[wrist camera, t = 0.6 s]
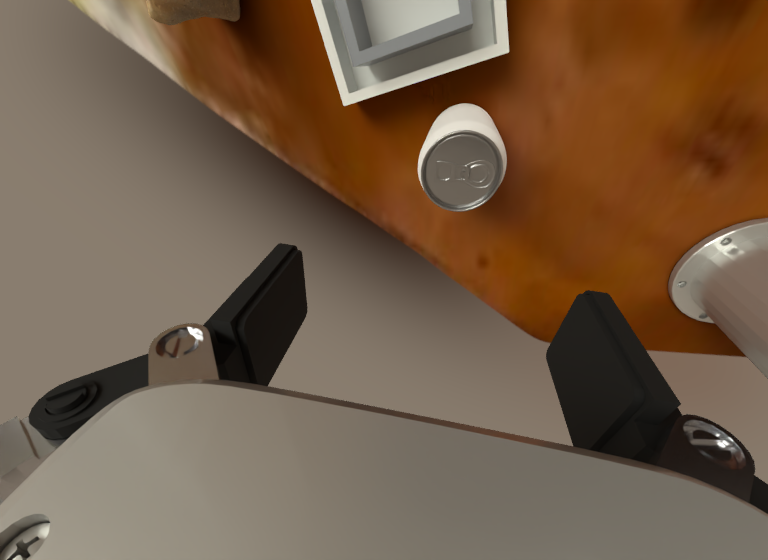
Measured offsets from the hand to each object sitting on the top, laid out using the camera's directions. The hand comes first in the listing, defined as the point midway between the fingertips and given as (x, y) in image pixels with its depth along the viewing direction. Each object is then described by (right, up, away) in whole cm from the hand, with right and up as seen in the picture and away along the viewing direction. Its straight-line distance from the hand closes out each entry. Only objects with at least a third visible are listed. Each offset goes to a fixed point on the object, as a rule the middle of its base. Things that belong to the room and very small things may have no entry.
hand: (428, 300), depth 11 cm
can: (+6, +15, +21) cm, 27 cm away
